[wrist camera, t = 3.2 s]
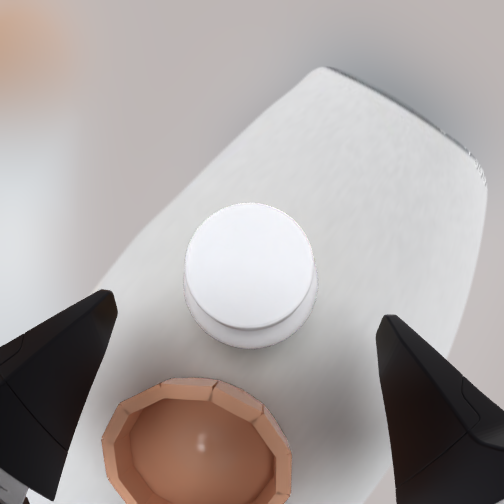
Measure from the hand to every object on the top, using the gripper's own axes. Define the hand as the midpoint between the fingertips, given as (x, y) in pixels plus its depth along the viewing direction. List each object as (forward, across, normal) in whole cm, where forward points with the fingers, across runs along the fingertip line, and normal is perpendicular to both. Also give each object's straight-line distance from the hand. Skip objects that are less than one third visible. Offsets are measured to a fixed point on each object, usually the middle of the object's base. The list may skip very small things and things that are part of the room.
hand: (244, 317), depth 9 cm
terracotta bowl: (0, +2, +13) cm, 13 cm away
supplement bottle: (+8, 0, +5) cm, 9 cm away
